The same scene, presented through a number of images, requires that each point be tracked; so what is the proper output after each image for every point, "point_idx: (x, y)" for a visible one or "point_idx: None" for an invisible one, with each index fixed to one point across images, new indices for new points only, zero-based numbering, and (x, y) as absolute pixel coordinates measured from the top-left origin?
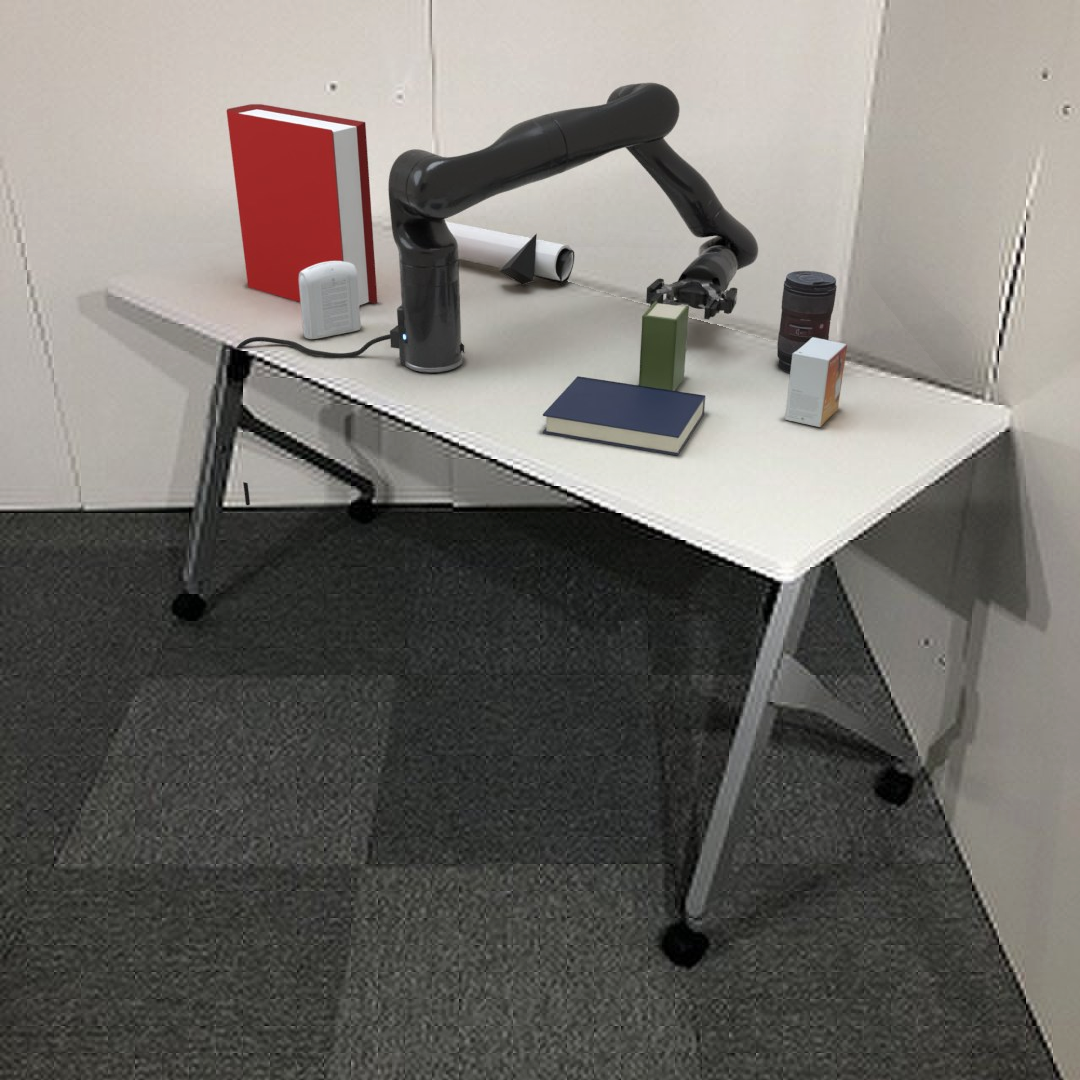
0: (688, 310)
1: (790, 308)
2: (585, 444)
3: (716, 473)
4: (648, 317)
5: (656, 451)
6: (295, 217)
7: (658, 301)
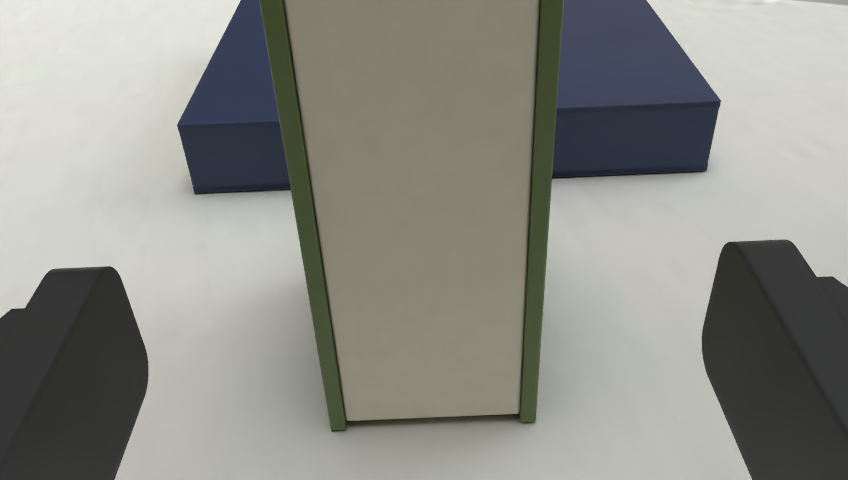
0: (261, 8)
1: None
2: None
3: (156, 30)
4: None
5: None
6: None
7: (743, 301)
